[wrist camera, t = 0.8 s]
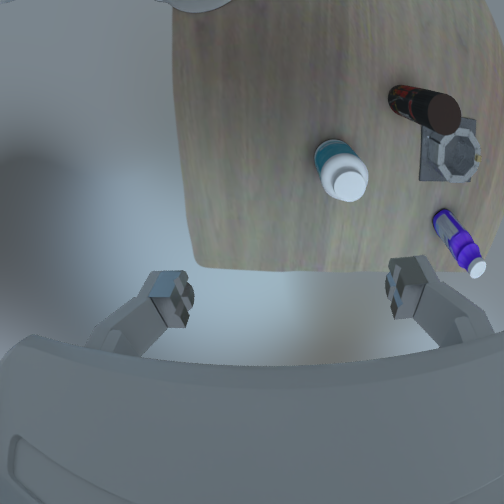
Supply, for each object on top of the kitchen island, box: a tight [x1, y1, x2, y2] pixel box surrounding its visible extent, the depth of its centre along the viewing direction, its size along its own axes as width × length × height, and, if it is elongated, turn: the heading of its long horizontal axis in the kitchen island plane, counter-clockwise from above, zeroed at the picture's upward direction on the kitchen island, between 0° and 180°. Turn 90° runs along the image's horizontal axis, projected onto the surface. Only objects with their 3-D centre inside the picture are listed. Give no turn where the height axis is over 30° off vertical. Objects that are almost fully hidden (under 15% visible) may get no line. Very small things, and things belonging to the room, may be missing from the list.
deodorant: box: [388, 85, 461, 136], centre depth 30 cm, size 6×6×15 cm
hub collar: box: [419, 117, 482, 183], centre depth 37 cm, size 14×14×5 cm
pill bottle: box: [314, 139, 368, 202], centre depth 40 cm, size 8×7×14 cm
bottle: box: [433, 209, 486, 278], centre depth 42 cm, size 7×6×17 cm
